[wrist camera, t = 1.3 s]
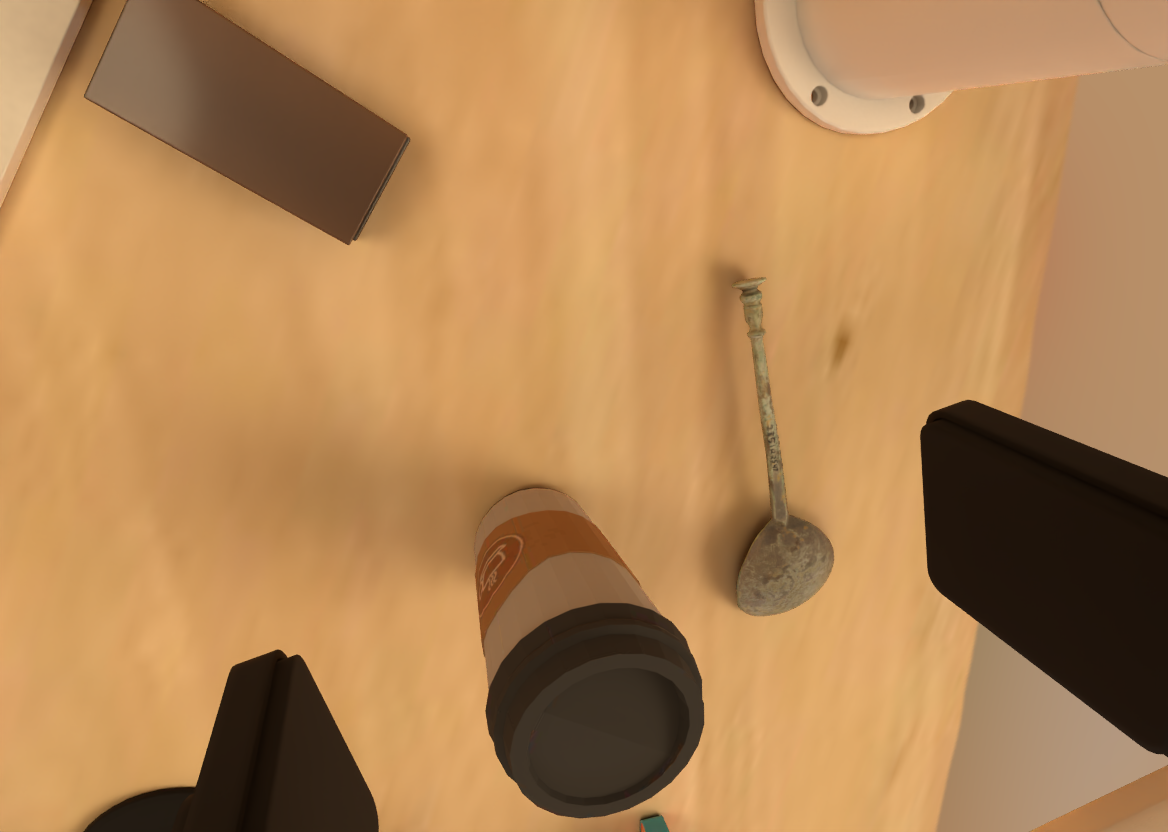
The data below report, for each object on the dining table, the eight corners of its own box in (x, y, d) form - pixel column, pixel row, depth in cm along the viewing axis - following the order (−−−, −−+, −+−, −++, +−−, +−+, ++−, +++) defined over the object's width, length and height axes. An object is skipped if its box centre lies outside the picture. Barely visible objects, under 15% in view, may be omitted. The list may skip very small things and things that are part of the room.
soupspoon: (726, 620, 45) (815, 586, 47) (754, 655, 42) (847, 616, 44) (685, 289, 36) (797, 258, 38) (717, 303, 33) (836, 269, 35)
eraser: (172, -15, 27) (137, -43, 23) (410, 139, 31) (414, 136, 27) (117, 105, 28) (75, 95, 24) (356, 239, 32) (352, 250, 28)
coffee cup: (505, 440, 37) (577, 606, 23) (631, 503, 40) (760, 682, 26) (425, 569, 38) (449, 799, 24) (554, 621, 41) (638, 849, 28)
